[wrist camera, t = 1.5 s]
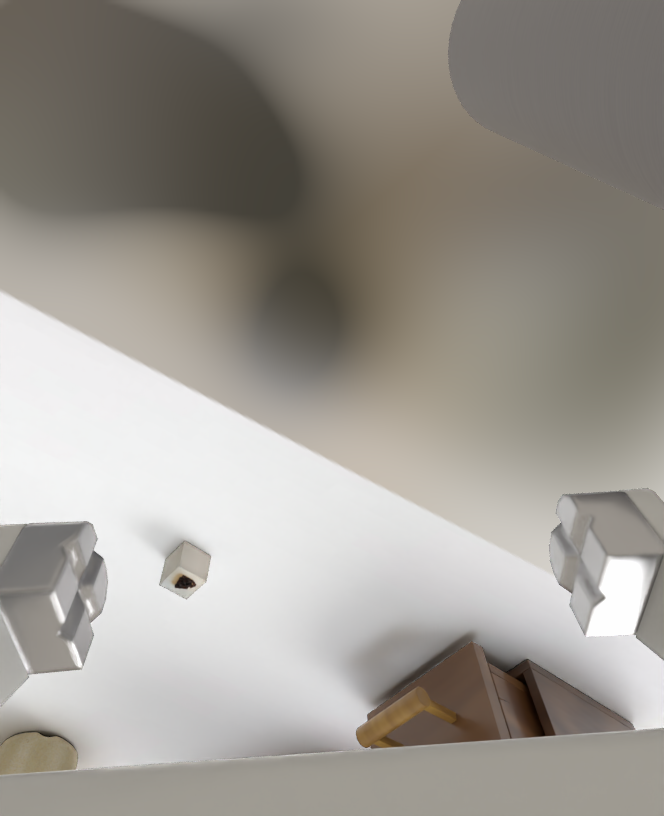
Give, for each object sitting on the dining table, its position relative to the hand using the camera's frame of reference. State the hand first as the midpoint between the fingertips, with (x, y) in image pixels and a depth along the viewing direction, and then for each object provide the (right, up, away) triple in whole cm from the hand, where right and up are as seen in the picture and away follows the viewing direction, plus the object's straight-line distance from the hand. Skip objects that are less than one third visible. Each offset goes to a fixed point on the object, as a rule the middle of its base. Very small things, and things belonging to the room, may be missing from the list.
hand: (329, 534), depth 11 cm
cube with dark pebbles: (-10, -8, +30) cm, 32 cm away
